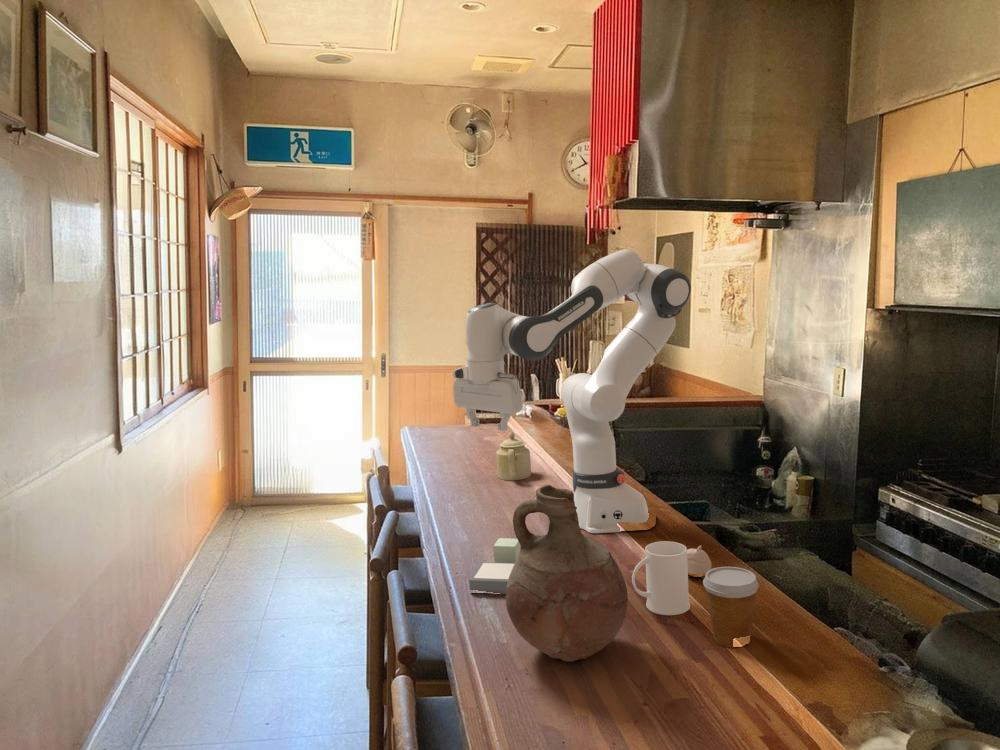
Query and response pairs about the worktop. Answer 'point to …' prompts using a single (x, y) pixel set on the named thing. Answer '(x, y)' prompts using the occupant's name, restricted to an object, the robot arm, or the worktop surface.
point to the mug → (665, 578)
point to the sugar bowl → (513, 460)
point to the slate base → (491, 577)
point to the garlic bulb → (698, 561)
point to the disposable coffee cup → (730, 602)
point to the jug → (563, 582)
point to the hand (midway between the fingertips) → (488, 428)
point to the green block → (506, 550)
